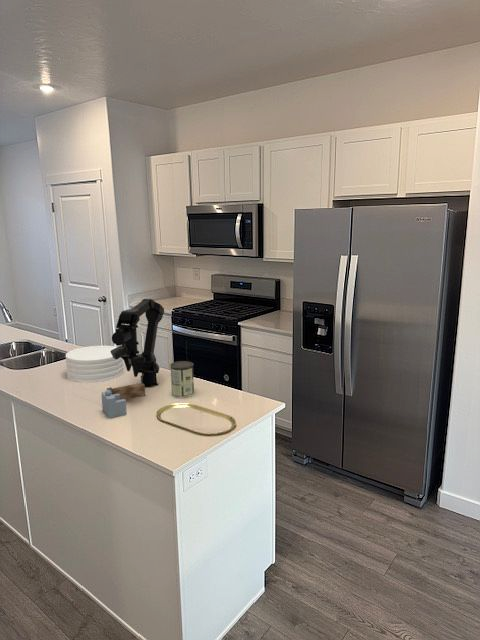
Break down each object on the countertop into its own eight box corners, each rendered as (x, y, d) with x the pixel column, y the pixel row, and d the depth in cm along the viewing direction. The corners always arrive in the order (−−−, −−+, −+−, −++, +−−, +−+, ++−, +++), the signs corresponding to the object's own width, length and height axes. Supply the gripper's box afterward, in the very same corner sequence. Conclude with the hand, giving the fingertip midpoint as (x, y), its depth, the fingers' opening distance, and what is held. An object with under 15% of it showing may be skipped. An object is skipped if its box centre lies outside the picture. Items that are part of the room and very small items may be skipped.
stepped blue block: (119, 407, 185) (118, 384, 183) (126, 414, 178) (125, 390, 176) (102, 410, 182) (101, 387, 180) (109, 418, 174) (107, 394, 172)
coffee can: (179, 388, 207) (178, 359, 204) (198, 392, 203) (197, 362, 200) (166, 396, 198) (165, 365, 195) (186, 399, 194) (185, 368, 191)
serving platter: (214, 442, 156) (214, 438, 155) (146, 417, 176) (146, 414, 176) (245, 423, 171) (245, 419, 170) (179, 403, 191) (179, 399, 190)
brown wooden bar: (142, 393, 201) (141, 381, 200) (145, 395, 198) (144, 383, 197) (107, 400, 193) (106, 388, 192) (109, 403, 190) (109, 390, 189)
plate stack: (101, 362, 248) (100, 342, 246) (135, 371, 232) (134, 350, 230) (56, 375, 226) (54, 354, 224) (89, 386, 210) (88, 363, 208)
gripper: (105, 337, 195) (107, 371, 199) (118, 347, 180) (120, 383, 183) (129, 334, 201) (131, 367, 205) (144, 343, 186) (146, 378, 189)
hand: (132, 373), depth 195 cm, fingers open, 9 cm apart
